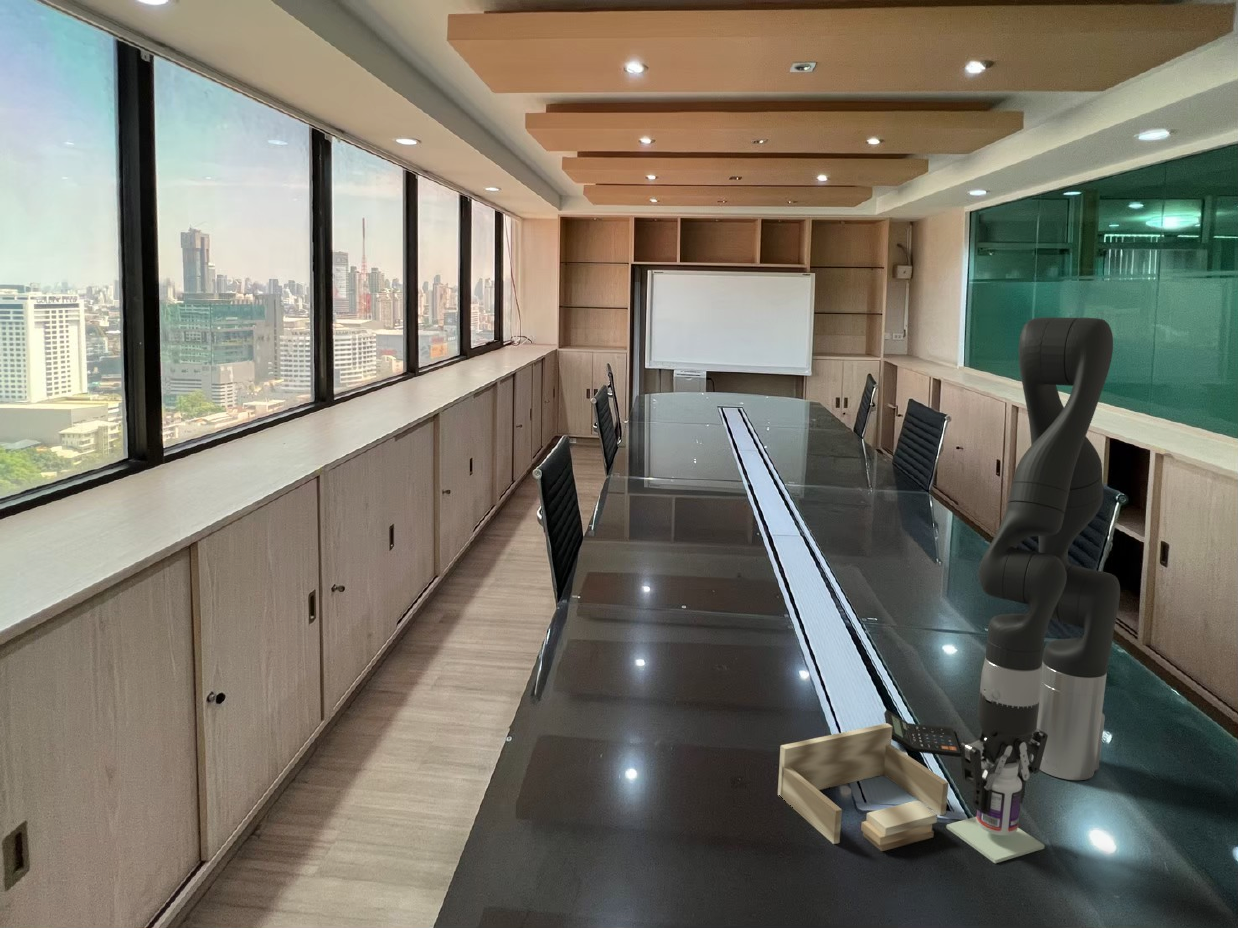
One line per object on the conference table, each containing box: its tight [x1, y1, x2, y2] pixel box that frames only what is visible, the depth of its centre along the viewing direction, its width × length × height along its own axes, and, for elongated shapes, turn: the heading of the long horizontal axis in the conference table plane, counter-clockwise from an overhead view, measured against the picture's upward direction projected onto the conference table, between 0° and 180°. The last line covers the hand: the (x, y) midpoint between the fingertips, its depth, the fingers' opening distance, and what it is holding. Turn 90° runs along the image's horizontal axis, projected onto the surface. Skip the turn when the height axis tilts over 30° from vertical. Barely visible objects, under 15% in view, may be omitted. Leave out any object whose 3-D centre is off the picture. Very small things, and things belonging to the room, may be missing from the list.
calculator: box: [883, 709, 961, 757], centre depth 158 cm, size 9×12×3 cm
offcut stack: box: [860, 799, 938, 852], centre depth 129 cm, size 10×4×4 cm, turn 114°
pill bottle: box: [976, 758, 1022, 835], centre depth 128 cm, size 5×5×10 cm
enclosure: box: [777, 722, 950, 845], centre depth 136 cm, size 20×14×8 cm
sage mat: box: [945, 815, 1045, 864], centre depth 129 cm, size 9×9×1 cm
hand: (997, 805), depth 128 cm, fingers closed on pill bottle, 5 cm apart
